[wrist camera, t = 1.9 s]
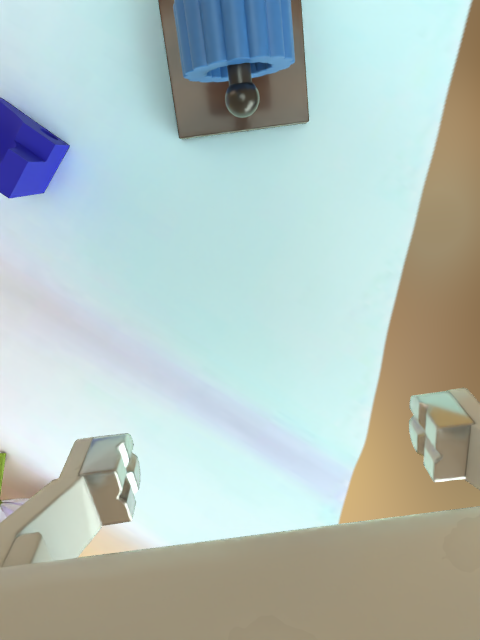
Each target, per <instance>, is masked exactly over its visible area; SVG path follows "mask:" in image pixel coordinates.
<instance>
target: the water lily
mask: <svg viewBox="0 0 480 640" xmlns="http://www.w3.org/2000/svg"><path fill="white" fill-rule="evenodd" d="M5 458H6V453H0V494H1V486H2V479H3V471H4V464H5ZM28 500H29V499H11V500H3V501H1V500H0V523H1V522H2V521H3V520H4V519H6V518H7V517H8V516H9V515H10V514H12V513H13V512H14V511H15V510H17V509H18V508H19V507H20V506H22V505H23V504H24V503H25V502H27V501H28Z"/></svg>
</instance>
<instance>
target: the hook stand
mask: <svg viewBox="0 0 480 640" xmlns="http://www.w3.org/2000/svg"><path fill="white" fill-rule="evenodd" d="M158 2H159V9H160V15H161V22H162V28H163V35H164V41H165V48H166V55H167V61H168V68H169V74H170V81H171V87H172V94H173V100H174V107H175V113H176V120H177V127H178V133H179V138H180V139H189V138H197V137H204V136H212V135H220V134H227V133H235V132H242V131H250V130H258V129H265V128H273V127H280V126H288V125H296V124H303V123H307V122H308V121H309V112H308V97H307V82H306V67H305V52H304V37H303V23H302V8H301V0H291V12H292V26H293V39H294V53H295V63H293V64H291V65H290V67H288V68H286V69H283V70H279V71H278V72H275V73H271V74H265V75H263V76H260V77H255V78H252V75H251V65H250V63H242V64H234V65H228V66H227V71H228V80H229V81H225V82H199V81H189V80H188V79H186V78H184V77H183V72H182V65H181V58H180V51H179V44H178V38H177V31H176V24H175V17H174V10H173V4H174V0H158Z"/></svg>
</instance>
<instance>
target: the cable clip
mask: <svg viewBox="0 0 480 640" xmlns="http://www.w3.org/2000/svg"><path fill="white" fill-rule="evenodd" d="M68 148H69V145H68V144H66V143H65V142H64V141H62V140H61V139H59V138H58V137H56V136H55V135H54V134H52V133H51V132H49V131H48V130H47V129H45V128H44V127H42V126H41V125H39V124H38V123H37V122H35V121H34V120H32V119H31V118H29V117H28V116H27V115H25V114H24V113H22V112H21V111H19V110H18V109H17V108H15V107H14V106H12V105H11V104H9V103H8V102H7V101H5V100H4V99H2V98H0V193H2V194H3V195H5V196H6V197H8V198H14V197H21V196H27V195H34V194H40V193H44V192H45V190H46V188H47V186H48V184H49V183H50V181H51V179H52V177H53V175H54V174H55V172H56V170H57V168H58V166H59V164H60V163H61V161H62V159H63V157H64V155H65V154H66V152H67V150H68Z"/></svg>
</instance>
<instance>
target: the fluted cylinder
mask: <svg viewBox="0 0 480 640" xmlns="http://www.w3.org/2000/svg"><path fill="white" fill-rule="evenodd" d="M173 10H174V17H175V24H176V31H177V38H178V44H179V51H180V58H181V65H182V72H183V77H184V78H186V79H188V80H189V81H199V82H225V81H229V80H228V71H227V66H228V65H234V64H242V63H250V65H251V75H252V78H255V77H260V76H263V75H265V74H271V73H275V72H278V71H279V70H283V69H286V68H288V67H290V65H291V64H293V63H295V53H294V39H293V26H292V12H291V0H174V4H173Z"/></svg>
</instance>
